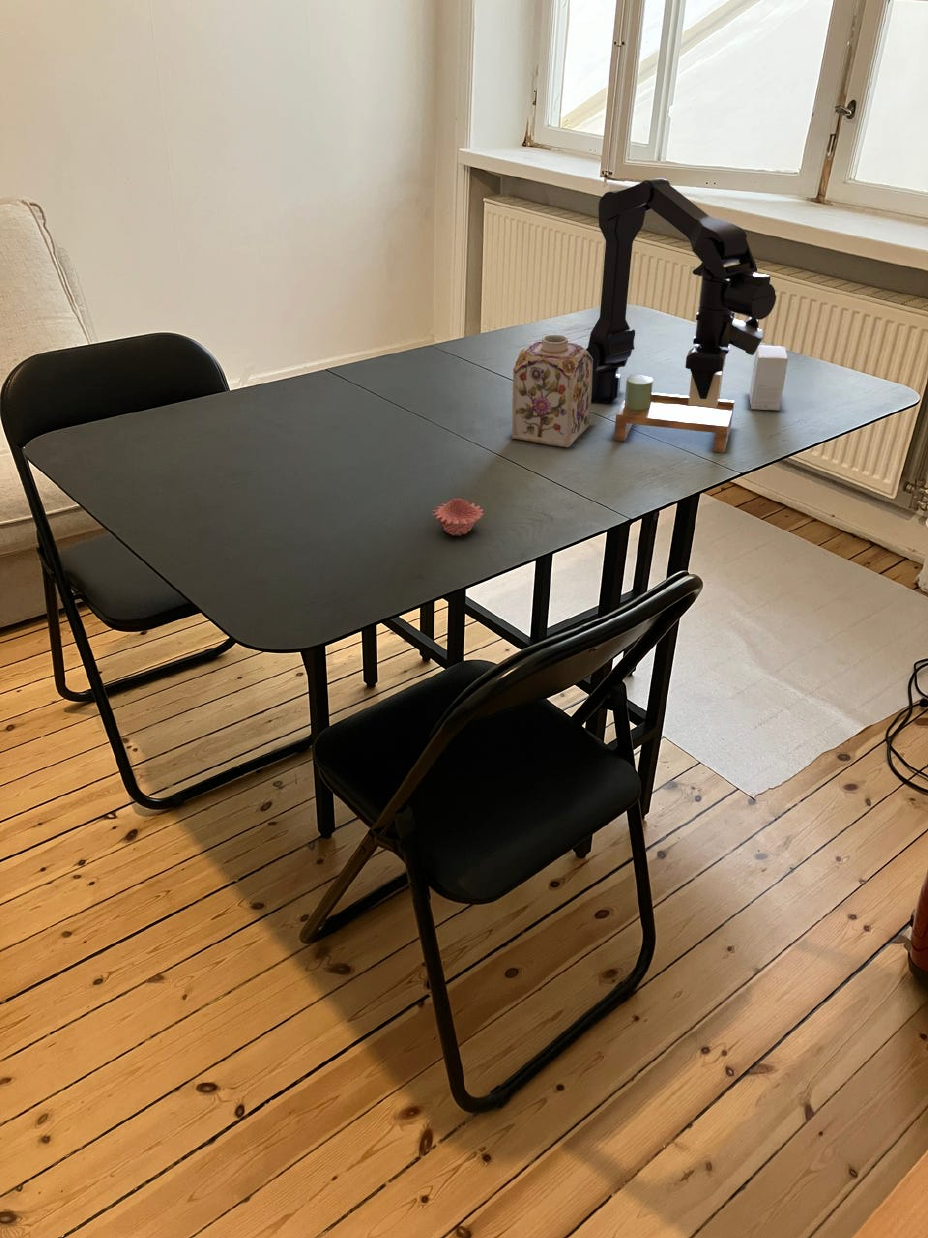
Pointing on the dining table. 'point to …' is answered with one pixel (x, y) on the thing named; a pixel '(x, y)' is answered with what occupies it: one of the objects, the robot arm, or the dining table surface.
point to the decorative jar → (552, 392)
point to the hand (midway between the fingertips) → (704, 393)
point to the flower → (458, 516)
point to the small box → (768, 377)
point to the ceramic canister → (638, 392)
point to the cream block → (712, 394)
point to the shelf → (678, 417)
